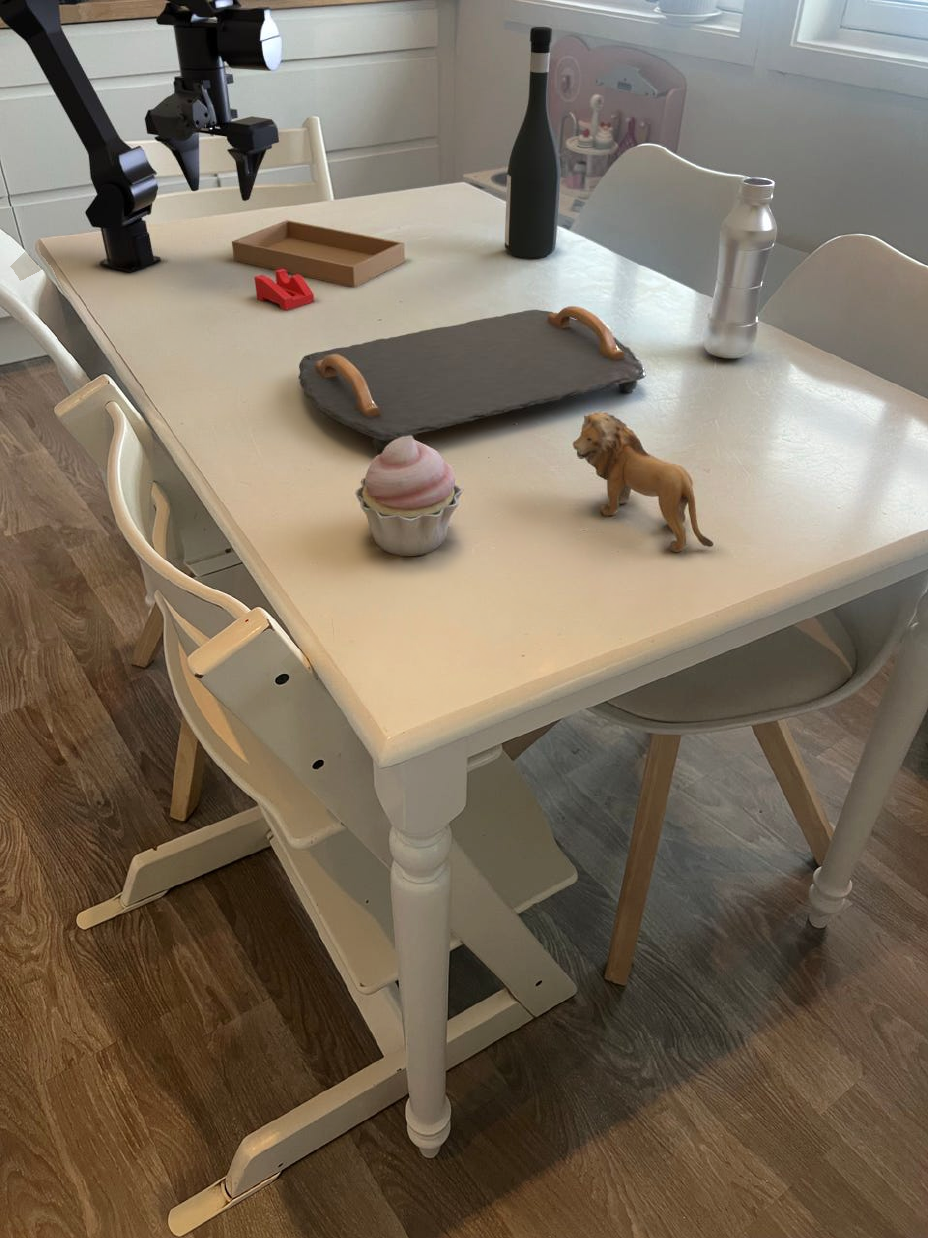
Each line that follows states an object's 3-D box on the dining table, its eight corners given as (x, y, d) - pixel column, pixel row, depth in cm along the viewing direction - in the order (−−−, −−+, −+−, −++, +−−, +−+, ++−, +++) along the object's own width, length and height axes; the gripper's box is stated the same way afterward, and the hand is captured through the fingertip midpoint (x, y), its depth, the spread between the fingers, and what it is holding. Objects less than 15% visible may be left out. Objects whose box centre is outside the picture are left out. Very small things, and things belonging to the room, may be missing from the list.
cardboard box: (234, 260, 145) (231, 241, 143) (288, 237, 154) (287, 219, 152) (354, 287, 136) (353, 267, 134) (404, 261, 145) (404, 242, 143)
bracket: (257, 298, 132) (254, 276, 130) (284, 289, 135) (282, 268, 133) (286, 310, 128) (283, 288, 127) (314, 301, 131) (312, 279, 129)
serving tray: (359, 471, 94) (355, 413, 91) (276, 383, 110) (269, 330, 106) (667, 391, 110) (675, 339, 106) (555, 324, 125) (559, 277, 122)
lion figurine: (558, 505, 90) (566, 417, 84) (590, 483, 93) (599, 397, 87) (697, 563, 82) (715, 471, 77) (726, 538, 86) (746, 448, 80)
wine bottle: (494, 253, 149) (501, 27, 130) (521, 240, 154) (531, 22, 135) (538, 263, 145) (552, 33, 126) (564, 250, 150) (581, 26, 132)
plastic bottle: (757, 348, 120) (793, 178, 107) (746, 368, 115) (782, 192, 103) (706, 340, 122) (735, 171, 110) (693, 359, 117) (722, 185, 105)
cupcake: (467, 565, 82) (469, 462, 76) (357, 569, 81) (350, 465, 75) (459, 508, 89) (460, 409, 83) (358, 511, 88) (351, 412, 82)
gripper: (102, 68, 121) (128, 198, 131) (215, 82, 114) (233, 219, 123) (165, 57, 129) (185, 181, 138) (274, 69, 121) (287, 199, 131)
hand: (220, 195), depth 132 cm, fingers open, 9 cm apart
